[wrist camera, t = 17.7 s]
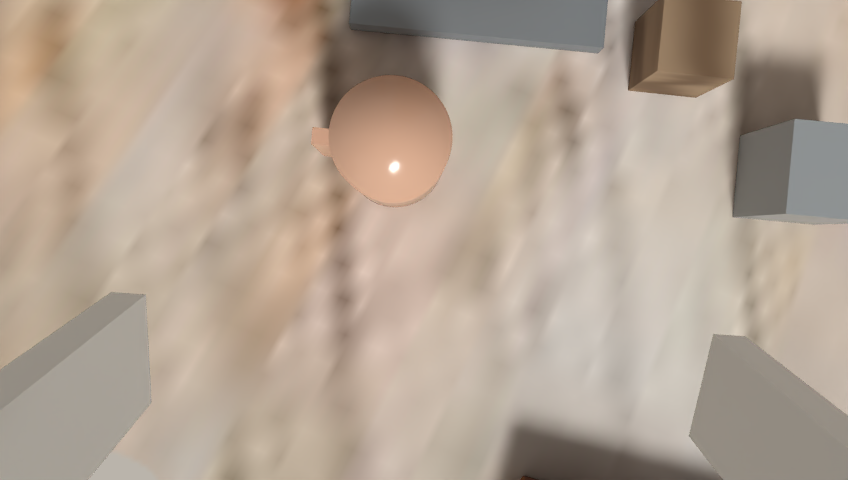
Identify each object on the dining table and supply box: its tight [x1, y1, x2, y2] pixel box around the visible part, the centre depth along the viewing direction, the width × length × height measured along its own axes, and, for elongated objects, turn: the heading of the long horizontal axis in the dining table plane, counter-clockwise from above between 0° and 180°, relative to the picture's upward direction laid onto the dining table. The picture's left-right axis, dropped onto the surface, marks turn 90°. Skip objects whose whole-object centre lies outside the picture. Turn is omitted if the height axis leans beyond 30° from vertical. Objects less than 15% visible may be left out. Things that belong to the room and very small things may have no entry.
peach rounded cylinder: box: [311, 75, 452, 207], centre depth 36 cm, size 8×7×9 cm
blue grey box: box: [733, 119, 848, 225], centre depth 39 cm, size 6×6×6 cm
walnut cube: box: [628, 0, 742, 98], centre depth 39 cm, size 5×5×5 cm
